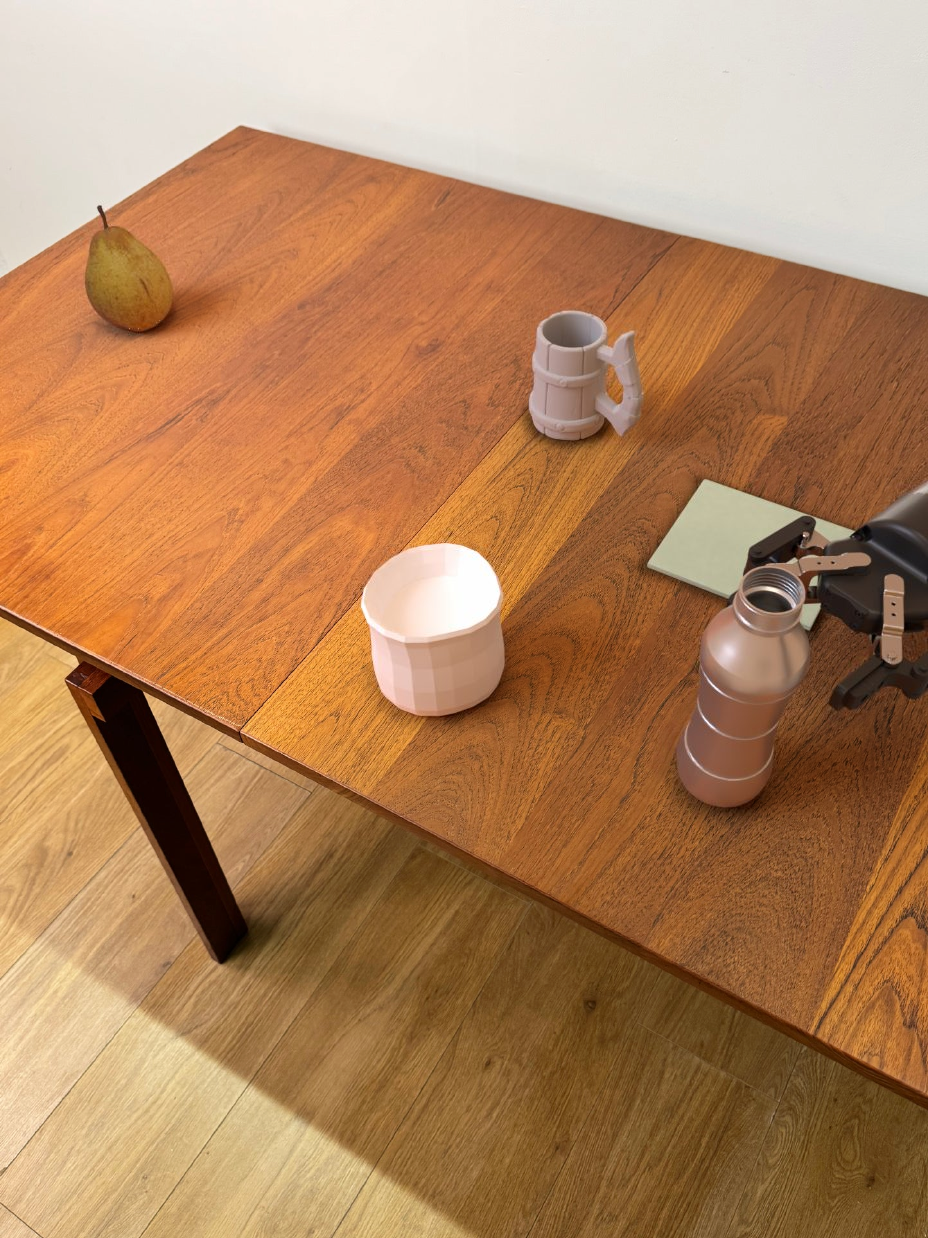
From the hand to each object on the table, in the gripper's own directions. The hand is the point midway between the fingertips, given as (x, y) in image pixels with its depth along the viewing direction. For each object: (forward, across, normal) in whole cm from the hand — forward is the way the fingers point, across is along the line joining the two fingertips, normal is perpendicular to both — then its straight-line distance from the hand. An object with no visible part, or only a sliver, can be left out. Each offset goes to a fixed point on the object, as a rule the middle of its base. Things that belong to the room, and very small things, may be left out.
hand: (780, 658), depth 63 cm
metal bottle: (+3, 0, -11) cm, 12 cm away
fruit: (+8, +81, -11) cm, 82 cm away
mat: (-15, +13, -11) cm, 23 cm away
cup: (+13, +20, -11) cm, 26 cm away
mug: (-16, +35, -11) cm, 40 cm away
